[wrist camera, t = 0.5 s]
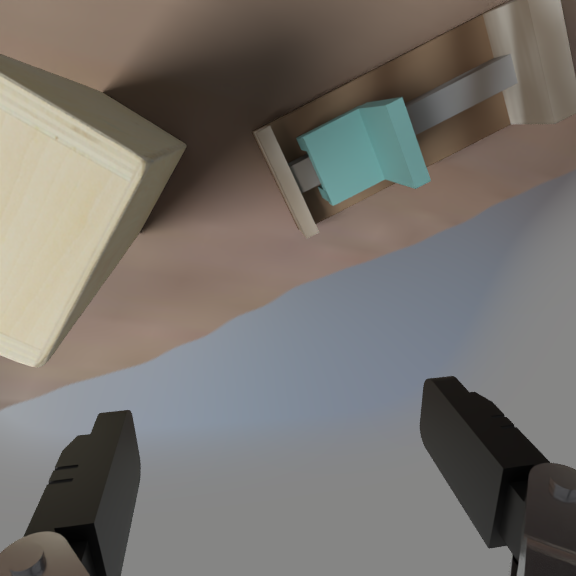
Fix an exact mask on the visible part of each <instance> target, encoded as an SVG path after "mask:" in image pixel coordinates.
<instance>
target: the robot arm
mask: <svg viewBox="0 0 576 576" xmlns="http://www.w3.org/2000/svg"><path fill="white" fill-rule="evenodd" d="M420 433H421V438H422V441H423V444H424V446H425V448H426V449H427V451H428V453H429V454H430V456H431V457H432V459H433V461H434V462H435V464H436V465H437V467H438V468H439V470H440V472H441V473H442V475H443V477H444V478H445V480H446V481H447V483H448V484H449V486H450V488H451V489H452V491H453V492H454V494H455V496H456V497H457V498H458V500H459V502H460V504H461V505H462V507H463V508H464V510H465V512H466V513H467V515H468V516H469V518H470V520H471V521H472V523H473V524H474V526H475V527H476V529H477V531H478V532H479V534H480V535H481V537H482V539H483V540H484V542H485V543H486V545H487V547H488V548H495V547H501V546H508V548H509V549H510V551H511V552H512V557H511V562H510V570H509V576H576V470H575V469H573V468H570V467H568V466H565V465H561V464H555V463H550V462H549V461H548V460H547V459H546V458H545V457H544V456H543V454H542V453H541V452H540V451H539V450H538V449H537V448H536V447H535V446H534V445H533V444H532V443H531V442H530V441H529V440H528V439H527V438H526V437H525V436H524V435H523V434H522V433H521V432H520V430H519V429H518V428H515V427H514V424H513V423H512V422H511V421H510V420H509V419H508V418H507V417H504V414H503V413H502V412H501V411H500V410H499V409H498V408H497V407H496V405H494V403H493V402H491V401H489V400H488V399H486V398H485V397H483V396H481V395H479V394H478V393H476V392H468V390H467V389H466V388H465V387H464V386H463V385H462V384H461V383H460V382H459V381H458V379H457V378H456V377H454V376H449V377H440V378H430V379H426V381H425V383H424V387H423V398H422V407H421V418H420ZM140 469H141V468H140V456H139V450H138V445H137V439H136V434H135V428H134V423H133V417H132V413H131V411H130V410H124V411H116V412H106V413H100V414H99V415H98V416H97V419H96V421H95V424H94V427H93V429H92V432H91V434H89V435H80V436H77V437H76V438H75V439H74V440H73V441H72V442H71V443H70V444H69V445H68V446H67V447H66V448H65V449H64V450H63V451H62V453H61V455H60V457H59V460H58V462H57V464H56V466H55V471H53V473H52V475H51V477H50V479H49V485H47V486H46V488H45V490H44V493H43V495H42V497H41V499H40V502H39V504H38V506H37V508H36V510H35V513H34V515H33V517H32V519H31V522H30V524H29V526H28V528H27V530H26V533H25V535H24V537H23V538H21V539H19V540H17V541H15V542H14V543H13V544H11V545H9V546H8V547H7V548H6V549H4V550H3V551H2V552H1V553H0V576H121V571H122V566H123V561H124V556H125V551H126V546H127V542H128V536H129V532H130V527H131V522H132V517H133V512H134V507H135V502H136V497H137V493H138V487H139V483H140Z"/></svg>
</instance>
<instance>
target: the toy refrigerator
mask: <svg viewBox="0 0 576 576" xmlns="http://www.w3.org/2000/svg"><path fill="white" fill-rule="evenodd" d="M186 146H187V145H186V144H185V143H183V142H182V141H180V140H179V139H177V138H175V137H174V136H172V135H171V134H169V133H167V132H166V131H164V130H162V129H161V128H159V127H158V126H156V125H154V124H153V123H151V122H150V121H148V120H146V119H145V118H143V117H141V116H140V115H138V114H137V113H135V112H133V111H132V110H130V109H129V108H127V107H125V106H124V105H122V104H120V103H119V102H117V101H116V100H114V99H112V98H111V97H109V96H107V95H106V94H104V93H102V92H100V91H98V90H95V89H93V88H90V87H88V86H85V85H82V84H80V83H77V82H74V81H72V80H69V79H67V78H64V77H61V76H58V75H56V74H53V73H50V72H47V71H45V70H42V69H39V68H37V67H34V66H31V65H28V64H26V63H23V62H21V61H18V60H15V59H13V58H10V57H7V56H5V55H2V54H0V355H1V356H4V357H6V358H9V359H11V360H14V361H16V362H19V363H22V364H24V365H28V366H32V367H41V366H43V365H44V364H45V363H46V362H47V361H48V360H49V359H50V358H51V356H52V355H53V354H54V352H55V351H56V349H57V348H58V347H59V345H60V344H61V342H62V341H63V339H64V338H65V337H66V335H67V334H68V332H69V331H70V329H71V328H72V327H73V325H74V324H75V323H76V321H77V320H78V318H79V317H80V316H81V314H82V313H83V312H84V310H85V309H86V308H87V306H88V305H89V303H90V302H91V300H92V299H93V298H94V296H95V295H96V293H97V292H98V291H99V289H100V288H101V286H102V285H103V284H104V282H105V281H106V279H107V278H108V277H109V275H110V274H111V273H112V271H113V270H114V268H115V267H116V266H117V264H118V263H119V261H120V260H121V258H122V257H123V256H124V254H125V253H126V251H127V250H128V248H129V247H130V246H131V244H132V243H133V241H134V240H135V239H136V237H137V236H138V234H139V233H140V231H141V229H142V227H143V226H144V224H145V222H146V220H147V218H148V217H149V215H150V213H151V211H152V209H153V207H154V206H155V204H156V202H157V200H158V198H159V197H160V195H161V193H162V191H163V189H164V187H165V186H166V184H167V182H168V180H169V178H170V176H171V175H172V173H173V171H174V169H175V167H176V165H177V164H178V162H179V160H180V158H181V156H182V154H183V153H184V151H185V149H186Z"/></svg>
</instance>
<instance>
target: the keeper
mask: <svg viewBox="0 0 576 576" xmlns="http://www.w3.org/2000/svg"><path fill="white" fill-rule="evenodd" d="M296 139H297V141H298V144H299V146H300V148H301V150H303V151H307V153H308V155H309V158H310V160H311V162H312V165H313V167H314V169H315V171H316V174H317V176H318V178H319V181H320V183H321V185H320V186H318V189H319V191H320V193H321V196H322V198H324V199H325V200H327V201H328V202H329V203H330V204H331V205H332V206H334V205H336V204H338V203H340V202H342V201H344V200H346V199H348V198H350V197H352V196H354V195H356V194H358V193H360V192H362V191H364V190H366V189H367V188H369V187H371V186H373V185H375V184H377V183H379V182H381V181H383V180H389V181H392V182H395V183H398V184H402V185H405V186H408V187H412V188H415V189H416V188H418V187H420V186H422V185H424V184H426V183H428V182H430V181H431V180H430V177H429V174H428V171H427V168H426V165H425V162H424V159H423V156H422V153H421V150H420V147H419V144H418V141H417V139H416V136H415V133H414V130H413V127H412V124H411V121H410V118H409V115H408V112H407V109H406V106H405V103H404V100H403V97H399V98H392V99H386V100H379V101H373V102H367V103H365V104H363V105H361V106H357V107H355V108H354V109H352V110H350V111H348V112H346V113H344V114H342V115H340V116H338V117H336V118H334V119H332V120H330V121H328V122H326V123H324V124H322V125H320V126H318V127H316V128H315V129H313V130H311V131H309V132H307V133H305V134H303V135H301V136H299V137H297V138H296Z"/></svg>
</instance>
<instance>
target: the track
mask: <svg viewBox="0 0 576 576" xmlns="http://www.w3.org/2000/svg"><path fill="white" fill-rule="evenodd" d="M399 97H403V100H404V103H405V106H406V109H407V112H408V115H409V118H410V121H411V124H412V127H413V130H414V133H415V136H416V139H417V141H418V144H419V147H420V150H421V153H422V156H423V159H424V162H425V165H426V167H428V166H430V165H432V164H434V163H436V162H438V161H440V160H442V159H444V158H446V157H448V156H450V155H452V154H454V153H456V152H458V151H460V150H461V149H463V148H465V147H467V146H469V145H471V144H473V143H475V142H477V141H479V140H481V139H483V138H485V137H487V136H489V135H491V134H493V133H495V132H497V131H499V130H501V129H503V128H505V127H507V126H508V125H510V124H556V123H558V122H560V121H562V120H564V119H566V118H568V117H570V116H572V115H574V114H576V77H575V72H574V67H573V62H572V57H571V51H570V46H569V41H568V36H567V31H566V26H565V21H564V16H563V11H562V6H561V0H510V1H508V2H506V3H503V4H501V5H498V6H496V7H494V8H492V9H491V10H489V11H487V12H485V13H483V14H481V15H479V16H477V17H475V18H473V19H471V20H469V21H467V22H465V23H463V24H461V25H459V26H457V27H455V28H454V29H452V30H450V31H448V32H446V33H444V34H442V35H440V36H438V37H436V38H434V39H432V40H430V41H428V42H426V43H424V44H422V45H420V46H418V47H417V48H415V49H413V50H411V51H409V52H407V53H405V54H403V55H401V56H399V57H397V58H395V59H393V60H391V61H389V62H387V63H385V64H383V65H381V66H380V67H378V68H376V69H374V70H372V71H370V72H368V73H366V74H364V75H362V76H360V77H358V78H356V79H354V80H352V81H350V82H348V83H346V84H344V85H343V86H341V87H339V88H337V89H335V90H333V91H331V92H329V93H327V94H325V95H323V96H321V97H319V98H317V99H315V100H313V101H311V102H309V103H307V104H306V105H304V106H302V107H300V108H298V109H296V110H294V111H292V112H290V113H288V114H286V115H284V116H282V117H280V118H278V119H276V120H274V121H272V122H270V123H268V124H267V125H265V126H263V127H261V128H259V129H257V130H255V131H253V132H252V133H253V135H254V138H255V140H256V142H257V144H258V146H259V148H260V150H261V152H262V154H263V156H264V159H265V161H266V163H267V165H268V167H269V169H270V171H271V173H272V175H273V177H274V179H275V182H276V184H277V186H278V188H279V190H280V192H281V194H282V196H283V198H284V200H285V203H286V205H287V207H288V209H289V211H290V213H291V215H292V217H293V219H294V221H295V223H296V226H297V228H298V229H299V230H300V231H301V233H302V234H303V235H304V236H305V237H306V239H307V238H309V237H311V236H313V235H315V234H317V233H319V231H318V229H317V227H316V224H317V223H318V222H320V221H322V220H324V219H326V218H328V217H330V216H332V215H334V214H336V213H338V212H340V211H342V210H344V209H346V208H348V207H350V206H352V205H354V204H356V203H358V202H360V201H362V200H364V199H366V198H367V197H369V196H371V195H373V194H375V193H377V192H379V191H381V190H383V189H385V188H387V187H389V186H391V185H393V184H395V182H392V181H389V180H383V181H381V182H379V183H377V184H375V185H373V186H371V187H369V188H367V189H366V190H364V191H362V192H360V193H358V194H356V195H354V196H352V197H350V198H348V199H346V200H344V201H342V202H340V203H338V204H336V205H334V206H332V205H331V204H330V203H329V202H328V201H327V200H325V199H324V198H322V196H321V193H320V191H319V189H318V186H320V185H321V183H320V181H319V178H318V176H317V174H316V171H315V169H314V167H313V165H312V162H311V160H310V158H309V155H308V153H307V151H303V150H301V148H300V146H299V144H298V141H297V139H296V138H297V137H299V136H301V135H303V134H305V133H307V132H309V131H311V130H313V129H315V128H316V127H318V126H320V125H322V124H324V123H326V122H328V121H330V120H332V119H334V118H336V117H338V116H340V115H342V114H344V113H346V112H348V111H350V110H352V109H354V108H355V107H357V106H361V105H363V104H365V103H367V102H373V101H379V100H386V99H392V98H399Z"/></svg>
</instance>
